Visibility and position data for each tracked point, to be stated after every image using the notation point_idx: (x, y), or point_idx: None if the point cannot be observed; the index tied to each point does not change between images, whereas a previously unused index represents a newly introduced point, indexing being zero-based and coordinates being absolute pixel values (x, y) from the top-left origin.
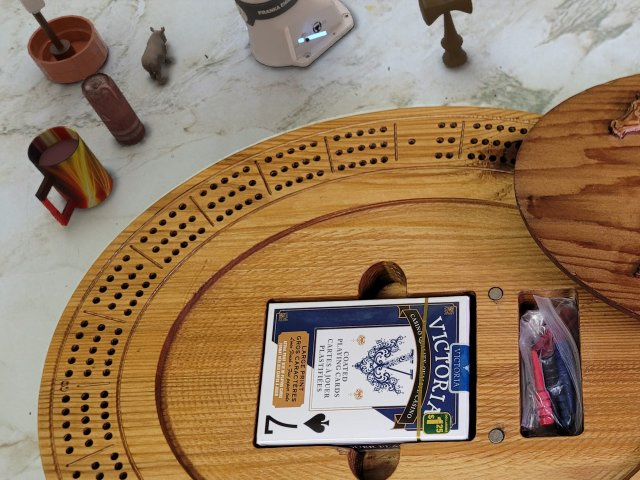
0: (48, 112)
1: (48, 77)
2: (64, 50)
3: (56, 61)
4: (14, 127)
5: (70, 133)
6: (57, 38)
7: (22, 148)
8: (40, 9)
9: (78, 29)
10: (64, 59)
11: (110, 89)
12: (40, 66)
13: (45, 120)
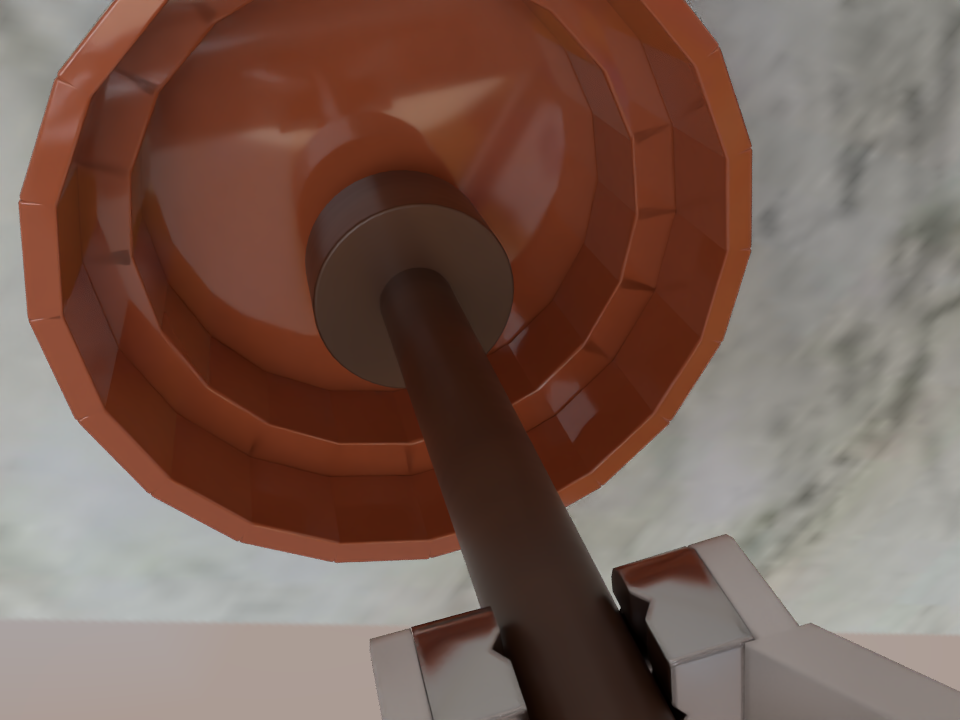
0: (721, 441)
1: None
2: (492, 272)
3: (684, 367)
4: None
5: None
6: (464, 317)
7: (850, 577)
8: (726, 537)
9: (159, 69)
10: (716, 301)
11: None
12: None
13: (765, 462)
